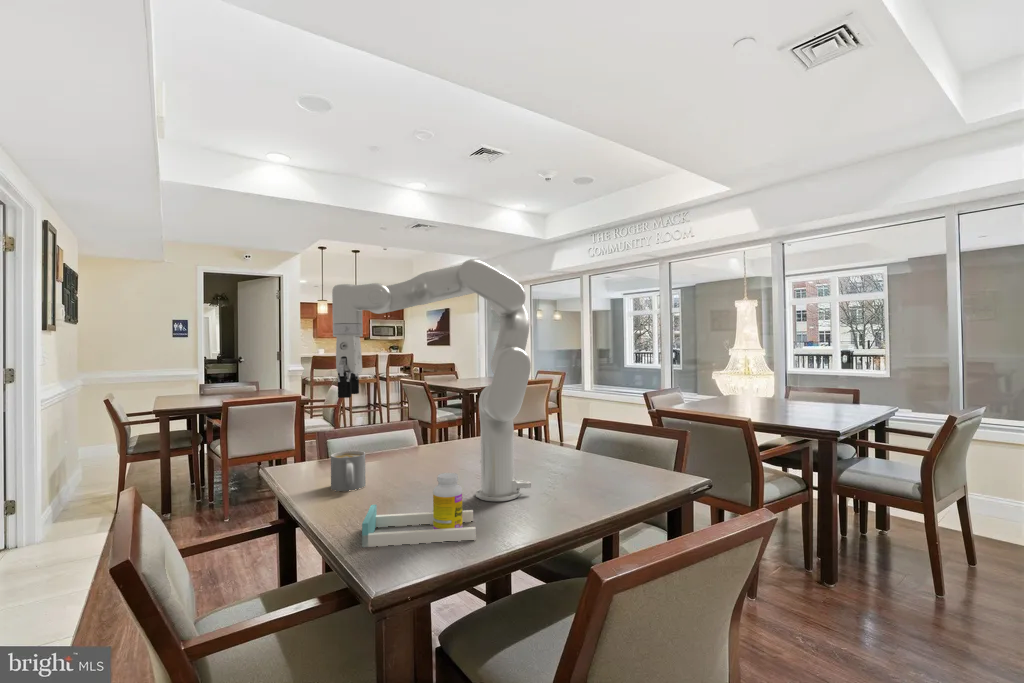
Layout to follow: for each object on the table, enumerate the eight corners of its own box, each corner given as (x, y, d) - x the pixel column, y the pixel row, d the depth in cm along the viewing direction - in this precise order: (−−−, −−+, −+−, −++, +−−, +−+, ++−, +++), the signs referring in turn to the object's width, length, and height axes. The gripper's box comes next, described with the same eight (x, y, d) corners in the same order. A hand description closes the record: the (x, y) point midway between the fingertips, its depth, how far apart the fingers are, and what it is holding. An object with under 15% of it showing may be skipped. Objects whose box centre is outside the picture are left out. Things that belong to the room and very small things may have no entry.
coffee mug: (334, 483, 151) (334, 451, 151) (367, 481, 153) (367, 449, 153) (325, 496, 138) (325, 461, 138) (361, 494, 140) (361, 459, 140)
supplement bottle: (457, 538, 107) (456, 479, 107) (429, 536, 108) (428, 478, 108) (466, 527, 113) (465, 472, 113) (439, 525, 115) (438, 470, 115)
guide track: (472, 520, 118) (472, 499, 118) (475, 540, 105) (475, 517, 105) (371, 526, 114) (371, 504, 114) (362, 547, 102) (362, 523, 102)
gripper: (355, 329, 120) (356, 398, 120) (368, 332, 137) (369, 392, 137) (324, 330, 119) (325, 399, 119) (341, 332, 137) (342, 393, 136)
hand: (348, 395), depth 128 cm, fingers open, 9 cm apart
